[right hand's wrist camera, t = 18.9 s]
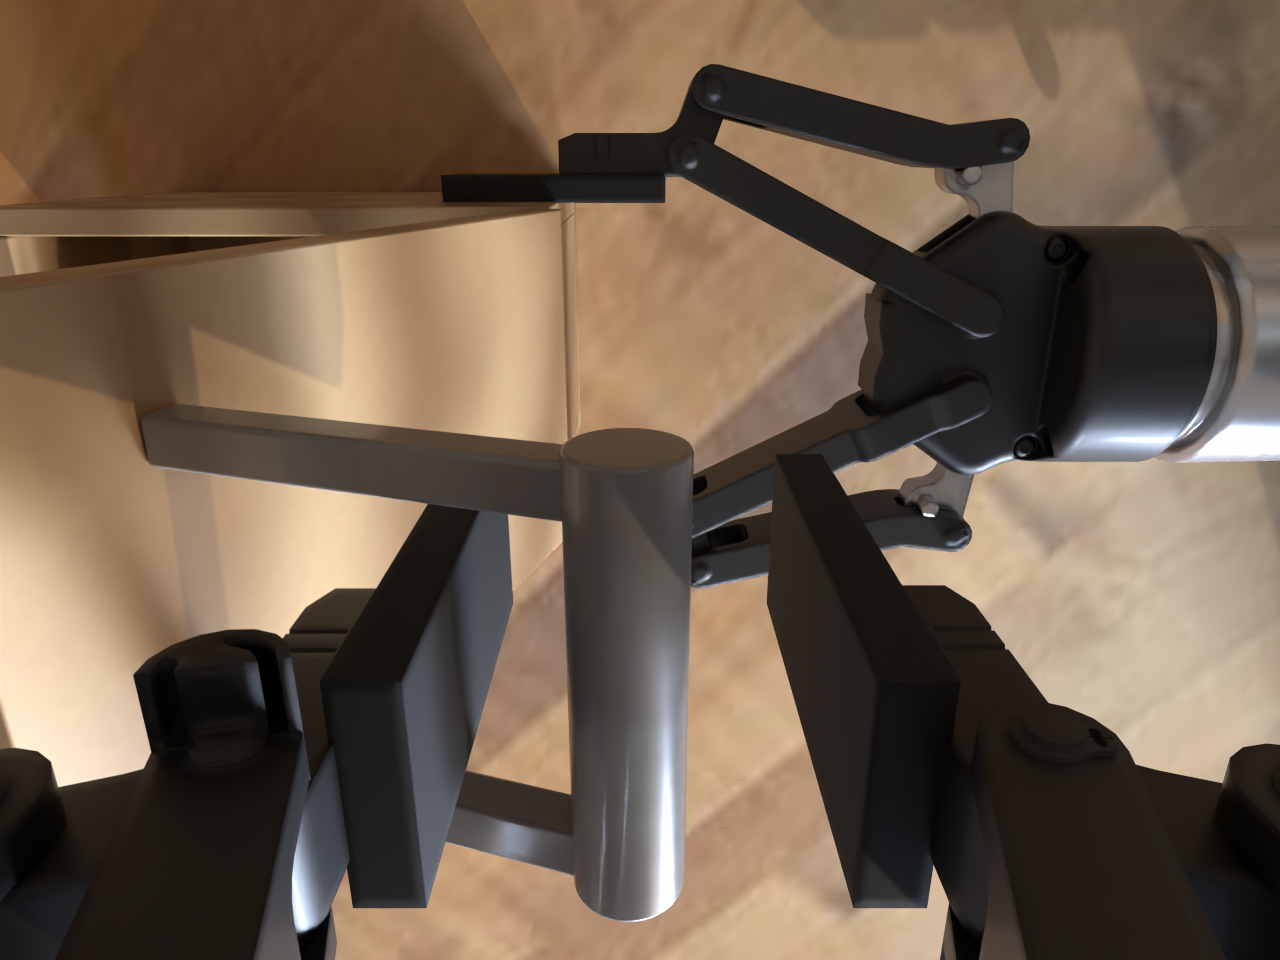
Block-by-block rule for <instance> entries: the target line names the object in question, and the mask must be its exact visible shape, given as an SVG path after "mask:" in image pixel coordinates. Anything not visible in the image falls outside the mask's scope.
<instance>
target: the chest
mask: <svg viewBox="0 0 1280 960" xmlns="http://www.w3.org/2000/svg"><path fill="white" fill-rule="evenodd" d="M529 208H544V209H560V211H561V241H562V274H563V306H564V339H565V371H566V404H567V436H568V440H569V439H571V438H573V437H575V436H578V432H579V427H580V423H581V421H580V382H579V342H578V302H577V262H576V223H575V203H556V202H443V195H442V192H163V193H150V194H138V195H125V196H113V197H100V198H88V199H75V200H63V201H50V202H38V203H25V204H13V205H0V277H4V276H11V275H19V274H27V273H35V272H42V271H50V270H58V269H66V268H73V267H81V266H89V265H96V264H104V263H112V262H120V261H127V260H135V259H143V258H150V257H158V256H166V255H174V254H181V253H189V252H197V251H205V250H212V249H220V248H228V247H235V246H243V245H251V244H259V243H266V242H274V241H282V240H290V239H297V238H305V237H313V236H320V235H328V234H336V233H344V232H351V231H359V230H367V229H374V228H382V227H390V226H398V225H405V224H413V223H421V222H429V221H436V220H444V219H452V218H459V217H467V216H475V215H483V214H490V213H498V212H506V211H513V210H521V209H529Z"/></svg>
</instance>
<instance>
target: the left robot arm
mask: <svg viewBox="0 0 1280 960" xmlns="http://www.w3.org/2000/svg"><path fill="white" fill-rule="evenodd" d="M723 119H725V120H729V121H732V122H736V123H740V124H744V125H748V126H752V127H756V128H760V129H763V130H767V131H771V132H775V133H779V134H783V135H787V136H791V137H794V138H798V139H802V140H806V141H810V142H814V143H818V144H822V145H825V146H829V147H833V148H837V149H841V150H845V151H849V152H853V153H856V154H860V155H864V156H868V157H872V158H876V159H880V160H884V161H887V162H891V163H895V164H900V165H905V166H910V167H924V168H935V181H936V183H937V185H938V187H939V188H940V189H941V190H942V191H944V192H946V193H951V194H957V195H959V196H961V197H963V198H964V200H965V201H966V202H967V204H968V206H969V214H968V215H967V216H965V217H964V218H962V219H961V220H959V221H958V222H956V223H955V224H954V225H952V226H951V227H949V228H948V229H946V230H945V231H943V232H942V233H940V234H939V235H938V236H936V237H935V238H933V239H932V240H930V241H929V242H927V243H926V244H924V245H923V246H922V247H920V248H919V249H917V250H916V251H914V252H913V253H911V252H909V251H907V250H906V249H904V248H902V247H900V246H898V245H896V244H894V243H893V242H891V241H889V240H887V239H885V238H882V237H881V236H879V235H877V234H875V233H873V232H871V231H870V230H868V229H866V228H864V227H862V226H861V225H859V224H857V223H855V222H853V221H852V220H850V219H848V218H846V217H844V216H842V215H841V214H839V213H837V212H835V211H833V210H832V209H830V208H828V207H826V206H824V205H823V204H821V203H819V202H817V201H815V200H814V199H812V198H810V197H808V196H806V195H805V194H803V193H801V192H799V191H797V190H796V189H794V188H792V187H790V186H788V185H787V184H785V183H783V182H781V181H779V180H778V179H776V178H774V177H772V176H770V175H769V174H767V173H765V172H763V171H761V170H760V169H758V168H756V167H754V166H752V165H750V164H749V163H747V162H745V161H743V160H741V159H740V158H738V157H736V156H734V155H732V154H731V153H729V152H727V151H725V150H723V149H722V148H720V147H718V146H716V145H714V142H715V139H716V137H717V134H718V131H719V128H720V126H721V123H722V120H723ZM1029 141H1030V134H1029V129H1028V128H1027V126H1026V124H1025V123H1024V122H1022V121H1021V120H1019V119H1014V118H1006V119H996V120H986V121H977V122H969V123H961V124H953V125H947V124H943V123H939V122H935V121H932V120H928V119H924V118H920V117H916V116H913V115H909V114H905V113H901V112H897V111H894V110H890V109H886V108H882V107H878V106H875V105H871V104H867V103H863V102H859V101H855V100H852V99H848V98H844V97H840V96H836V95H833V94H829V93H825V92H821V91H817V90H814V89H810V88H806V87H802V86H798V85H795V84H791V83H787V82H783V81H779V80H776V79H772V78H768V77H764V76H760V75H757V74H753V73H749V72H745V71H741V70H738V69H734V68H730V67H726V66H722V65H717V64H710V65H707V66H705V67H702V68H701V69H700V70H699V71H698V72H697V73H696V75H695V76H694V78H693V79H692V81H691V83H690V85H689V88H688V91H687V94H686V97H685V100H684V103H683V105H682V108H681V111H680V114H679V117H678V119H677V121H676V122H675V124H674V125H673V126H672V127H671V128H669V129H668V130H666V131H663V132H660V133H574V134H572V135H570V136H568V137H565V138H563V139H561V140H558V146H559V174H450V175H441V182H442V195H443V202H556V203H665V177H683V178H685V179H687V180H689V181H690V182H692V183H694V184H696V185H698V186H700V187H702V188H703V189H705V190H707V191H709V192H711V193H713V194H714V195H716V196H718V197H720V198H722V199H724V200H725V201H727V202H729V203H731V204H733V205H735V206H736V207H738V208H740V209H742V210H744V211H746V212H747V213H749V214H751V215H753V216H755V217H757V218H758V219H760V220H762V221H764V222H766V223H768V224H770V225H771V226H773V227H775V228H777V229H779V230H781V231H782V232H784V233H786V234H788V235H790V236H792V237H793V238H795V239H797V240H799V241H801V242H803V243H804V244H806V245H808V246H810V247H812V248H814V249H815V250H817V251H819V252H821V253H823V254H825V255H826V256H828V257H830V258H832V259H834V260H836V261H838V262H839V263H841V264H843V265H845V266H847V267H849V268H850V269H852V270H854V271H856V272H858V273H860V274H861V275H863V276H865V277H867V278H869V279H871V280H872V281H874V282H876V284H875V286H874V288H873V290H872V293H871V294H866V302H865V313H864V318H865V324H866V330H867V335H868V343H867V345H866V348H865V351H864V354H863V356H862V359H861V362H860V369H859V381H858V385H859V386H860V388H861V389H862V390H860V391H858V392H856V393H854V394H851V395H849V396H847V397H845V398H843V399H841V400H839V401H838V402H836V403H835V404H834V405H833V406H832V408H831V409H830V410H828V411H826V412H825V413H822V414H820V415H818V416H816V417H814V418H812V419H810V420H808V421H806V422H803V423H801V424H799V425H797V426H795V427H793V428H791V429H789V430H787V431H784V432H782V433H780V434H778V435H776V436H774V437H772V438H770V439H768V440H765V441H763V442H761V443H759V444H757V445H755V446H753V447H751V448H749V449H746V450H744V451H742V452H740V453H738V454H736V455H734V456H732V457H730V458H727V459H725V460H723V461H721V462H719V463H717V464H715V465H713V466H711V467H708V468H706V469H704V470H702V471H700V472H698V473H696V474H694V475H693V506H692V550H691V586H692V587H695V588H707V587H711V586H716V585H721V584H726V583H730V582H735V581H740V580H745V579H750V578H754V577H759V576H764V575H768V573H769V555H770V538H771V520H772V512H770V513H765V514H761V515H756V516H751V517H747V518H742V519H737V520H734V519H736V518H738V517H740V516H742V515H744V514H747V513H749V512H751V511H753V510H755V509H757V508H760V507H762V506H764V505H766V504H768V503H770V502H773V485H774V467H775V454H822V455H823V457H824V459H825V460H826V462H827V463H828V465H829V467H830V468H831V470H832V472H833V473H835V472H838V471H840V470H842V469H844V468H846V467H848V466H851V465H853V464H855V463H858V462H871V461H875V460H878V459H881V458H883V457H885V456H887V455H889V454H892V453H894V452H896V451H898V450H900V449H902V448H905V447H907V446H909V445H911V444H914V445H915V446H917V447H918V448H919V449H921V450H922V451H923V452H925V453H926V454H927V455H929V456H930V457H931V458H933V459H934V460H935V461H937V464H936V467H935V468H934V469H933V470H932V471H931V472H930V473H929V474H927V475H924V476H920V477H914V478H909V479H906V480H905V481H904V482H903V484H902V486H901V488H900V490H895V489H886V490H875V491H868V492H863V493H858V494H854V495H849V496H848V498H849V499H850V501H851V503H852V504H853V506H854V508H855V509H856V511H857V513H858V514H859V516H860V517H861V519H862V521H863V522H864V524H865V526H866V527H867V529H868V531H869V532H870V534H871V535H872V537H873V539H874V540H875V542H876V544H877V545H878V547H879V549H880V550H881V551H883V550H888V549H893V548H898V547H910V548H919V549H928V550H937V551H946V552H955V551H959V550H961V549H963V548H965V547H966V546H967V545H968V544H969V542H970V540H971V538H972V530H971V528H970V526H969V524H968V523H967V522H966V521H965V520H964V519H963V514H964V510H965V506H966V503H967V499H968V495H969V491H970V488H971V484H972V480H973V476H974V474H978V473H981V472H983V471H985V470H987V469H989V468H991V467H993V466H996V465H998V464H1001V463H1004V462H1008V461H1015V460H1023V461H1042V462H1137V461H1144V460H1147V459H1150V458H1153V457H1155V458H1157V459H1158V460H1164V461H1169V462H1224V461H1280V227H1237V226H1198V227H1185V228H1182V229H1180V230H1177V231H1173V230H1171V229H1169V228H1165V227H1161V226H1037V225H1035V224H1032V223H1030V222H1028V221H1027V220H1025V219H1024V218H1022V217H1021V216H1019V215H1017V214H1015V213H1013V212H1012V201H1013V168H1014V161H1015V160H1017V159H1018V158H1020V157H1021V156H1022V155H1023V154H1024V153H1025V151H1026V150H1027V148H1028V146H1029ZM731 520H733V521H731Z"/></svg>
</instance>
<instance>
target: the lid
mask: <svg viewBox="0 0 1280 960" xmlns="http://www.w3.org/2000/svg"><path fill="white" fill-rule="evenodd" d="M693 461H694V452H693V449H692V446H691V445H690V443H689V442H688V441H686V440H685V439H683V438H681V437H679V436H676V435H673V434H670V433H666V432H662V431H657V430H650V429H640V428H615V429H604V430H598V431H593V432H588V433H585V434H581V435H578V436H575V437H573V438H571V439H569V440H568V436H567V404H566V371H565V339H564V306H563V274H562V241H561V211H560V209H544V208H529V209H521V210H513V211H506V212H498V213H490V214H483V215H475V216H467V217H459V218H452V219H444V220H436V221H429V222H421V223H413V224H405V225H398V226H390V227H382V228H374V229H367V230H359V231H351V232H344V233H336V234H328V235H320V236H313V237H305V238H297V239H290V240H282V241H274V242H266V243H259V244H251V245H243V246H235V247H228V248H220V249H212V250H205V251H197V252H189V253H181V254H174V255H166V256H158V257H150V258H143V259H135V260H127V261H120V262H112V263H104V264H96V265H89V266H81V267H73V268H66V269H58V270H50V271H42V272H35V273H27V274H19V275H11V276H4V277H0V749H5V748H21V749H27V750H33V751H38V752H40V753H41V754H42V755H43V756H45V757H46V758H47V759H48V760H50V761H51V763H52V767H53V770H54V774H55V777H56V781H57V784H58V787H61V786H66V785H71V784H76V783H81V782H86V781H91V780H96V779H101V778H106V777H111V776H116V775H121V774H125V773H129V772H133V771H137V770H141V769H144V767H145V764H146V762H147V760H148V758H149V756H150V754H151V749H150V745H149V741H148V737H147V732H146V728H145V724H144V720H143V715H142V711H141V707H140V703H139V699H138V694H137V690H136V686H135V682H134V677H133V674H134V673H135V672H136V671H137V670H138V669H139V668H140V667H141V666H142V665H143V664H144V662H145V661H146V660H147V659H149V658H150V657H152V656H154V655H155V654H157V653H159V652H161V651H162V650H164V649H166V648H167V647H169V646H171V645H173V644H176V643H179V642H181V641H184V640H187V639H190V638H192V637H195V636H198V635H202V634H207V633H213V632H218V631H223V630H228V629H257V630H262V631H266V632H270V633H275V634H277V635H279V636H280V637H281V638H283V637H284V636H285V635H286V634H289V629H290V628H291V627H292V625H293V624H294V622H295V621H296V620H297V618H298V617H299V616H300V614H301V613H302V612H303V610H304V609H305V608H306V607H307V606H309V605H310V604H312V603H313V602H315V601H316V600H318V599H320V598H321V597H323V596H324V595H326V594H327V593H329V592H330V591H332V590H334V589H335V588H377V586H378V585H379V583H380V581H381V580H382V578H383V576H384V575H385V573H386V571H387V570H388V568H389V567H390V565H391V563H392V562H393V560H394V558H395V557H396V555H397V553H398V552H399V550H400V549H401V547H402V545H403V544H404V542H405V540H406V539H407V537H408V535H409V534H410V532H411V531H412V529H413V527H414V526H415V524H416V522H417V521H418V519H419V517H420V516H421V514H422V513H423V511H424V509H425V508H426V506H427V504H433V505H440V506H448V507H455V508H463V509H470V510H478V511H485V512H493V513H500V514H507V515H508V520H509V538H510V555H511V573H512V590H513V591H514V590H515V589H516V588H517V587H518V586H519V585H520V584H521V583H522V582H523V580H524V579H525V578H526V577H527V576H528V575H529V574H530V573H531V572H532V571H533V570H534V569H535V568H536V567H537V566H538V565H539V564H540V563H541V562H542V561H543V560H544V559H545V558H546V557H547V556H548V555H549V554H550V553H551V552H552V551H553V550H554V549H555V548H556V547H557V546H558V545H559V544H560V543H561V542H562V541H563V570H564V599H565V629H566V658H567V687H568V716H569V745H570V774H571V795H570V794H565V793H561V792H557V791H553V790H548V789H544V788H540V787H535V786H531V785H527V784H523V783H518V782H514V781H510V780H505V779H501V778H497V777H493V776H488V775H484V774H480V773H475V772H471V771H467V770H466V771H465V774H464V778H463V781H462V785H461V788H460V792H459V795H458V799H457V802H456V806H455V809H454V813H453V816H452V820H451V823H450V827H449V830H448V834H447V837H446V841H445V842H447V843H451V844H455V845H458V846H462V847H466V848H470V849H474V850H477V851H481V852H485V853H489V854H493V855H497V856H500V857H504V858H508V859H512V860H516V861H519V862H523V863H527V864H531V865H535V866H538V867H542V868H546V869H550V870H554V871H558V872H561V873H565V874H569V875H573V876H574V883H575V887H576V890H577V893H578V895H579V896H580V898H581V899H582V901H583V902H584V903H585V905H586V906H587V907H588V908H590V909H591V910H592V911H593V912H595V913H597V914H598V915H600V916H602V917H605V918H608V919H611V920H615V921H622V922H635V921H642V920H646V919H649V918H652V917H655V916H657V915H659V914H661V913H662V912H664V911H665V910H667V909H668V908H669V907H670V906H671V905H672V904H673V903H674V902H675V900H676V899H677V897H678V896H679V894H680V892H681V890H682V887H683V883H684V862H685V817H686V773H687V728H688V684H689V639H690V595H691V550H692V506H693Z"/></svg>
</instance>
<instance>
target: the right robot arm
mask: <svg viewBox="0 0 1280 960" xmlns="http://www.w3.org/2000/svg"><path fill="white" fill-rule="evenodd" d="M512 605H513V590H512V573H511V555H510V538H509V520H508V515H507V514H500V513H493V512H485V511H478V510H470V509H463V508H455V507H448V506H440V505H433V504H427V506H426V508H425V509H424V511H423V513H422V514H421V516H420V517H419V519H418V521H417V522H416V524H415V526H414V527H413V529H412V531H411V532H410V534H409V535H408V537H407V539H406V540H405V542H404V544H403V545H402V547H401V549H400V550H399V552H398V553H397V555H396V557H395V558H394V560H393V562H392V563H391V565H390V567H389V568H388V570H387V571H386V573H385V575H384V576H383V578H382V580H381V581H380V583H379V585H378V586H377V588H335V589H334V590H332V591H330V592H329V593H327V594H326V595H324V596H323V597H321V598H320V599H318V600H316V601H315V602H313V603H312V604H310V605H309V606H307V607H306V608H305V609H304V610H303V612H302V613H301V614H300V616H299V617H298V618H297V620H296V621H295V622H294V624H293V625H292V627H291V628H290V629H289V634H286V635H285V636H284V637H283V638H281V637H280V636H279V635H277V634H275V633H270V632H266V631H262V630H257V629H228V630H223V631H218V632H213V633H207V634H202V635H198V636H195V637H192V638H190V639H187V640H184V641H181V642H179V643H176V644H173V645H171V646H169V647H167V648H166V649H164V650H162V651H161V652H159V653H157V654H155V655H154V656H152V657H150V658H149V659H147V660H146V661H145V662H144V664H143V665H142V666H141V667H140V668H139V669H138V670H137V671H136V672H135V673H134V674H133V677H134V682H135V686H136V690H137V694H138V699H139V703H140V707H141V711H142V715H143V720H144V724H145V728H146V732H147V737H148V741H149V745H150V749H151V754H150V756H149V758H148V760H147V762H146V764H145V767H144V769H141V770H137V771H133V772H129V773H125V774H121V775H116V776H111V777H106V778H101V779H96V780H91V781H86V782H81V783H76V784H71V785H66V786H61V787H58V784H57V781H56V777H55V774H54V770H53V767H52V763H51V761H50V760H48V759H47V758H46V757H45V756H43V755H42V754H41V753H40V752H38V751H33V750H27V749H21V748H5V749H0V960H335V953H336V945H337V940H336V933H335V926H334V919H333V913H332V907H331V905H332V902H333V900H334V898H335V895H336V893H337V890H338V888H339V885H340V883H341V881H342V878H343V876H344V873H345V871H346V868H347V871H348V878H349V884H350V891H351V898H352V904H353V908H427V904H428V901H429V897H430V894H431V890H432V887H433V883H434V880H435V876H436V873H437V869H438V866H439V862H440V859H441V855H442V852H443V848H444V845H445V841H446V837H447V834H448V830H449V827H450V823H451V820H452V816H453V813H454V809H455V806H456V802H457V799H458V795H459V792H460V788H461V785H462V781H463V778H464V774H465V771H466V767H467V764H468V760H469V757H470V753H471V749H472V746H473V742H474V739H475V735H476V732H477V728H478V725H479V721H480V718H481V714H482V711H483V707H484V704H485V700H486V697H487V693H488V690H489V686H490V683H491V679H492V676H493V672H494V669H495V665H496V662H497V658H498V654H499V651H500V647H501V644H502V640H503V637H504V633H505V630H506V626H507V623H508V619H509V616H510V612H511V609H512ZM767 605H768V609H769V612H770V616H771V619H772V623H773V626H774V630H775V633H776V637H777V640H778V644H779V647H780V651H781V654H782V658H783V662H784V665H785V669H786V672H787V676H788V679H789V683H790V686H791V690H792V693H793V697H794V700H795V704H796V707H797V711H798V714H799V718H800V721H801V725H802V728H803V732H804V735H805V739H806V742H807V746H808V749H809V753H810V757H811V760H812V764H813V767H814V771H815V774H816V778H817V781H818V785H819V788H820V792H821V795H822V799H823V802H824V806H825V809H826V813H827V816H828V820H829V823H830V827H831V830H832V834H833V837H834V841H835V845H836V848H837V852H838V855H839V859H840V862H841V866H842V869H843V873H844V876H845V880H846V883H847V887H848V890H849V894H850V897H851V901H852V904H853V908H927V904H928V898H929V891H930V884H931V878H932V871H933V864H934V866H935V869H936V871H937V874H938V876H939V879H940V881H941V883H942V886H943V888H944V891H945V893H946V895H947V898H948V900H949V907H948V913H947V919H946V926H945V932H944V938H943V944H942V950H941V957H940V960H1280V745H1275V744H1261V745H1254V746H1248V747H1243V748H1242V749H1240V750H1239V751H1238V752H1237V753H1235V754H1234V755H1233V756H1232V757H1230V760H1229V763H1228V767H1227V770H1226V774H1225V777H1224V781H1223V783H1218V782H1213V781H1208V780H1203V779H1198V778H1193V777H1188V776H1183V775H1178V774H1173V773H1168V772H1163V771H1158V770H1154V769H1150V768H1147V767H1143V766H1139V765H1135V763H1134V761H1133V759H1132V756H1131V754H1130V752H1129V751H1128V749H1127V748H1126V747H1125V745H1124V744H1123V743H1122V742H1121V740H1120V739H1119V738H1118V736H1117V735H1116V734H1115V733H1114V732H1112V731H1111V730H1109V729H1108V728H1106V727H1105V726H1103V725H1102V724H1101V723H1099V722H1098V721H1096V720H1095V719H1093V718H1091V717H1089V716H1086V715H1084V714H1082V713H1079V712H1077V711H1074V710H1072V709H1070V708H1067V707H1064V706H1059V705H1055V704H1050V703H1048V702H1047V700H1046V699H1045V698H1044V696H1043V695H1042V694H1041V692H1040V691H1039V690H1038V688H1037V687H1036V686H1035V684H1034V683H1033V682H1032V680H1031V679H1030V678H1029V676H1028V675H1027V674H1026V672H1025V671H1024V670H1023V668H1022V667H1021V666H1020V664H1019V663H1018V662H1017V660H1016V659H1015V658H1014V656H1013V655H1012V654H1011V652H1010V651H1009V650H1008V649H1005V644H1004V643H1003V642H1002V640H1001V639H1000V638H999V636H998V635H997V634H996V632H995V631H991V626H990V624H989V623H988V622H987V620H986V619H985V618H984V616H983V615H982V614H981V612H980V611H979V609H978V608H977V607H976V605H975V604H973V603H972V602H970V601H969V600H967V599H965V598H964V597H962V596H961V595H959V594H958V593H956V592H954V591H953V590H951V589H950V588H948V587H946V586H902V585H901V583H900V581H899V580H898V578H897V576H896V575H895V573H894V571H893V570H892V568H891V567H890V565H889V563H888V562H887V560H886V558H885V557H884V555H883V553H882V552H881V550H880V549H879V547H878V545H877V544H876V542H875V540H874V539H873V537H872V535H871V534H870V532H869V531H868V529H867V527H866V526H865V524H864V522H863V521H862V519H861V517H860V516H859V514H858V513H857V511H856V509H855V508H854V506H853V504H852V503H851V501H850V499H849V498H848V496H847V495H846V493H845V491H844V490H843V488H842V486H841V485H840V483H839V481H838V480H837V478H836V477H835V475H834V473H833V472H832V470H831V468H830V467H829V465H828V463H827V462H826V460H825V459H824V457H823V455H822V454H775V467H774V485H773V503H772V520H771V538H770V555H769V573H768V590H767Z"/></svg>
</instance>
